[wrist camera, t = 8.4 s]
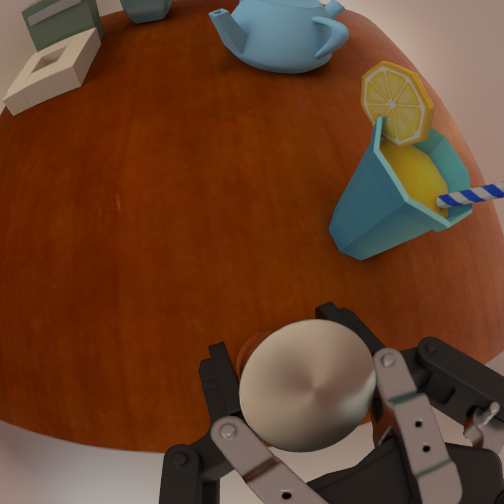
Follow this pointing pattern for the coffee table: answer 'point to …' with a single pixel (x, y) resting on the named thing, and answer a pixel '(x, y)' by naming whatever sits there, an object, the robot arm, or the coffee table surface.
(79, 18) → the green upright block
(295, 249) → the coffee table surface
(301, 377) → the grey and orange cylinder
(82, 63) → the hollow square tile
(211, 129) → the coffee table surface
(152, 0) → the flower pot
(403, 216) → the cup
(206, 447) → the robot arm
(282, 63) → the teapot
